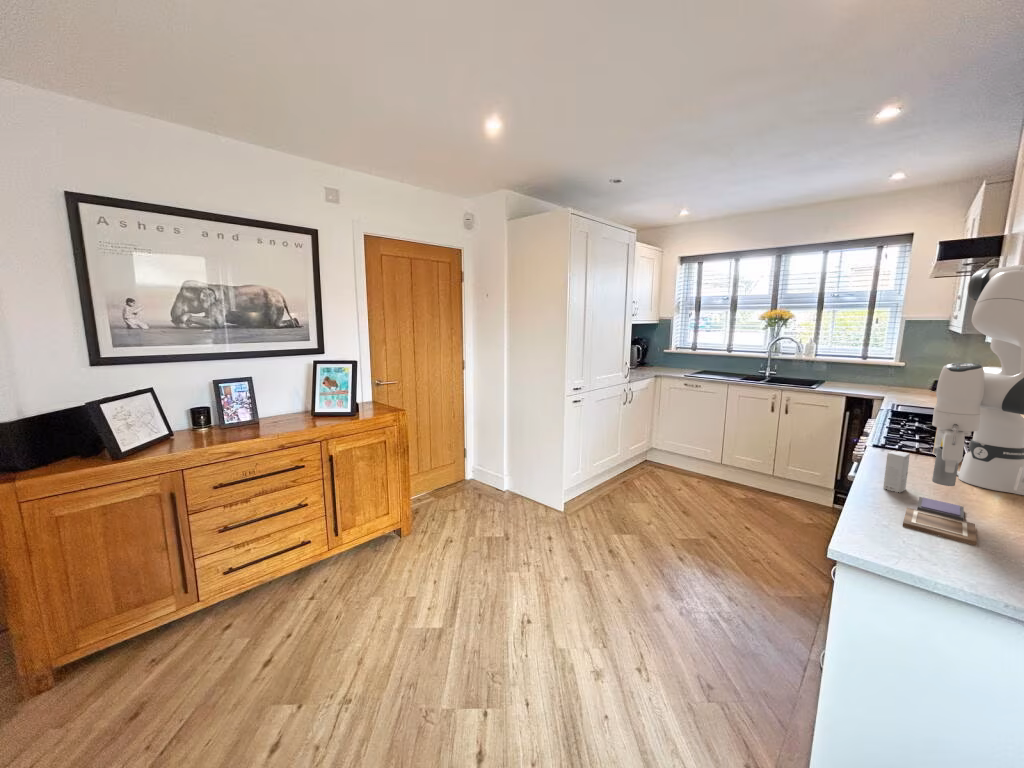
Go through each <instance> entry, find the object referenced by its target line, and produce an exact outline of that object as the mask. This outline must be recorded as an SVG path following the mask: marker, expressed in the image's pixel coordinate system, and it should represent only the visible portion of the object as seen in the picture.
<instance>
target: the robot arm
mask: <svg viewBox="0 0 1024 768" xmlns="http://www.w3.org/2000/svg"><path fill="white" fill-rule="evenodd" d="M966 288H967V293H968V297H969V298H970V299H971V300H972V301H975V302H976V303H975V305H974V308H973V311H972V314H971V315H972V316H971V324H972V326H973V327H974V329H975V330H976V331H977V332H979V333H981V334H982V335H984V336H986V337H989V338H991V342H990V344H989V348H990V350H991V352H993V354H995V355H996V356H997V357H998V360H999V362H1000V365H1001V366H983V365H981V364H978V363H975V362H952V363H948V364H946V365H943V367H942V369H941V371H940V374H939V377H938V381H937V383H936V384H937V385H936V390H935V394H936V395H935V396H936V404H935V405H934V408H933V414H932V415H933V416H932V423H931V424H932V426H933V427H935V428H937V427H938V432H940V433H942V441H943V447H942V460H944V461H945V471H946V472H949V473H954V470H955V465H956V462H957V463H959V464H960V463H961V465H960V469H959V470H958V471H957V476H958V479H959V480H960V481H962V482H964V483H966V484H969V485H972V486H976V487H978V488H983V489H987V490H992V491H998V492H1005V493H1011V494H1016V495H1019V496H1024V417H1023V416H1022V415H1024V264H1019V265H1009V266H1001V267H995V268H994V267H988V268H984V269H979V270H978V271H976V272H975V273H974V274H972V275H971V277H970V279H969V281H968V283H967V287H966ZM972 432H973V436H972ZM970 436H972V438H971V439H970V441H969V444H968V450H969V451H968V452H966V453H965V454H964V448H965V440H966V439H965V437H970ZM963 455H964V456H963Z"/></svg>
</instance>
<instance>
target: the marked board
mask: <svg viewBox="0 0 1024 768" xmlns="http://www.w3.org/2000/svg"><path fill="white" fill-rule="evenodd" d="M904 526H905V528H909V529H913V530H916V531H920V532H923V533H928V534H930V535H934V534H935V536H938V535H939V537H943V538H946V539H950V540H954V541H958V542H960V543H961V542H962V543H965V544H969V545H972V546H977V544H978V543H977V542H978V541H977V530H976V523H972V522H969V521H965V520H964V521H961V520H957V519H953V518H949V517H945V516H940V515H936V514H932V513H928V512H924V511H920V510H917V508H916V509H915V508H911V507H906V510H905V514H904V518H903V521H902V527H904Z"/></svg>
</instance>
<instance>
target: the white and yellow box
mask: <svg viewBox="0 0 1024 768" xmlns="http://www.w3.org/2000/svg"><path fill="white" fill-rule="evenodd" d="M934 437H935V438H934V444H933V448H932V449H933V450H932V454H933V455H935V456H936V453H937V447H939V446H943V441H942V433H940V432H938V427H936V432H935V436H934ZM935 456H934V457H935Z"/></svg>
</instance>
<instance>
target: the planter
mask: <svg viewBox="0 0 1024 768" xmlns="http://www.w3.org/2000/svg"><path fill="white" fill-rule="evenodd" d="M942 447H943V446H939V447H937V453H936V457H935V460H934V465H933V466H934V467H933V472H932V477H931V481H932V482H933V483H934V484H937V485H940V486H946V487H955V485H956V481H957V476H958V475H957V471H959V470H958V469H959V465H960V463H957V462H956V465H955V470H954V473H949V472H946V471H945V461H944V460H942Z"/></svg>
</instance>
